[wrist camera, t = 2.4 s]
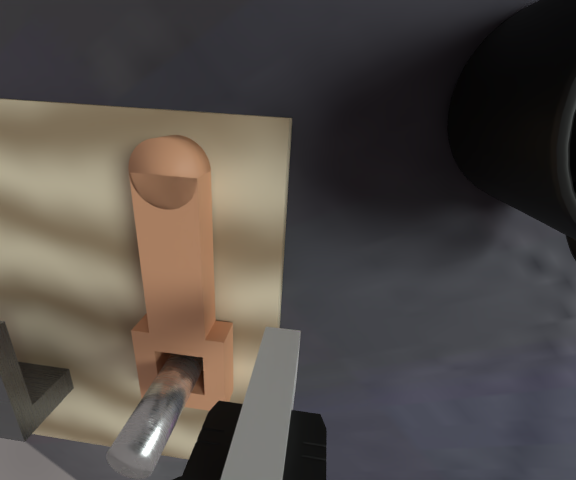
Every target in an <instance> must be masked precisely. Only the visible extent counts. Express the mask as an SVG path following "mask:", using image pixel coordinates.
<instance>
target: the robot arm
mask: <svg viewBox="0 0 576 480" xmlns="http://www.w3.org/2000/svg"><path fill="white" fill-rule="evenodd" d="M300 334H301V331H298V330H290V329H282V328H274V327H266V328H265V331H264V334H263V338H262V341H261V344H260V348H259V351H258V355H257V358H256V361H255V365H254V368H253V371H252V375H251V378H250V382H249V385H248V388H247V392H246V395H245V398H244V402H243V404H240V403H233V402H226V401H218V402H217V403H216V404H215V405H214V406H213V407H212V409H211V410H210V411H209V412H208V414H207V416H206V418H205V421H204V423H203V426H202V430H201V431H200V433H199V436H198V438H197V442H196V443H195V446H194V448H193V451H192V453H191V455H190V458H189V460H188V463H187V465H186V468H185V470H184V473H183V475H182V476H180V477H178V478H176V479H173V480H326V427H325V424H324V422H323V419H322V417H321V415H320V414H315V413H308V412H301V411H294V410H293V403H294V395H295V386H296V377H297V366H298V355H299V344H300Z"/></svg>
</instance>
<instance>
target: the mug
mask: <svg viewBox="0 0 576 480" xmlns="http://www.w3.org/2000/svg"><path fill="white" fill-rule="evenodd" d="M448 136H449V143H450V147H451V150H452V154H453V157H454V159H455V161H456V163H457V165H458V167H459V168H460V170H461V171H462V172H463V174H464V175H465V176H466V178H467V179H468V180H469V181H471V182H472V183H473V184H474V185H475V186H476V187H478V188H479V189H481V190H482V191H484V192H486V193H488V194H489V195H491V196H493V197H495V198H497V199H499V200H501V201H503V202H504V203H506V204H508V205H510V206H512V207H514V208H516V209H518V210H520V211H522V212H523V213H525V214H527V215H529V216H531V217H533V218H535V219H537V220H539V221H540V222H542V223H544V224H546V225H548V226H550V227H552V228H554V229H556V230H558V231H559V232H561V233H563V234H565V235H566V239H567V242H568V245H569V248H570V251H571V253H572V255H573V257H574V259H575V260H576V0H540V1H538V2H536V3H534V4H532V5H530V6H528V7H526V8H524V9H522V10H520V11H519V12H518V13H516V14H515V15H513V16H512V17H510V18H509V19H507V20H506V21H505V22H503V23H502V24H501V25H500V26H499V27H498V28H496V29H495V30H494V31H493V32H492V33H491V34H490V35H489V36H488V37H487V38H486V39H485V40H484V41H483V42H482V44H481V45H480V46H479V47H478V48H477V50H476V51H475V52H474V54H473V55H472V57H471V58H470V59H469V61H468V62H467V64H466V65H465V67H464V69H463V71H462V73H461V75H460V77H459V79H458V81H457V84H456V86H455V89H454V92H453V95H452V98H451V103H450V108H449V115H448Z"/></svg>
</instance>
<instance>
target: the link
mask: <svg viewBox="0 0 576 480" xmlns="http://www.w3.org/2000/svg"><path fill="white" fill-rule="evenodd" d="M128 169H129V178H130V186H131V194H132V202H133V210H134V218H135V225H136V233H137V241H138V249H139V257H140V265H141V272H142V280H143V288H144V296H145V304H146V312H147V313H146V314H145V315H144V317H143V318H142V319H141V320H140V321H139V322H138V323H137V324H136V325H135V327H134V328H133V329H132V330H131V334H132V340H133V347H134V353H135V360H136V366H137V373H138V380H139V386H140V393H141V399H142V398H143V396H144V395H145V393H146V392H147V390H148V389H149V387H150V385H151V384H152V382H153V381H154V379H155V378H156V376H157V375H158V373H159V372H160V370H161V368H162V367H163V365H164V364H165V362H166V361H167V359H168V358H169V356H170V355H171V353H173V354H180V355H187V356H195V357H202V358H203V371H202V372H201V374H200V376H199V378H198V380H197V382H196V384H195V386H194V388H193V390H192V392H191V394H190V396H189V398H188V400H187V402H186V404H185V407H187V408H194V409H201V410H207V411H210V410H211V409H212V407H213V406H214V405H215V404H216V403H217V402H218V401H226V402H229V401H230V398H231V395H232V393H233V323H231V322H223V321H216V318H215V286H214V254H213V222H212V190H211V167H210V162H209V160H208V157H207V155H206V153H205V152H204V150H203V149H202V148H201V147H200V146H199V145H198V144H197V143H196V142H195V141H193V140H191V139H190V138H187V137H185V136H181V135H170V136H163V137H157V138H151V139H147V140H145V141H143V142H141V143H140V144H138V145H137V146H136V147H135V149H134V150H133V152H132V154H131V156H130V159H129V167H128Z"/></svg>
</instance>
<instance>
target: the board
mask: <svg viewBox="0 0 576 480" xmlns="http://www.w3.org/2000/svg"><path fill="white" fill-rule="evenodd" d="M291 129H292V118H284V117H269V116H254V115H239V114H225V113H210V112H195V111H180V110H165V109H150V108H135V107H120V106H105V105H90V104H75V103H60V102H46V101H31V100H16V99H1V98H0V321H5V324H6V327H7V330H8V333H9V336H10V339H11V342H12V345H13V348H14V351H15V354H16V357H17V360H18V362H24V363H31V364H38V365H45V366H52V367H59V368H66V369H69V370H70V374H71V378H72V382H73V386H74V389H73V390H72V391H71V392H70V393H69V394H68V395H67V396H66V397H65V398H64V399H63V400H62V402H61V403H60V404H59V405H58V406H57V407H56V408H55V409H54V410H53V411H52V412H51V414H50V415H49V416H48V417H47V418H46V419H45V420H44V421H43V422H42V423H41V424H40V426H39V427H38V428H37V429H36V430H35V431H34V432H33V433H32V434H37V435H43V436H49V437H55V438H61V439H67V440H73V441H80V442H86V443H92V444H98V445H104V446H110V447H111V446H112V444H113V442H114V441H115V439H116V438H117V436H118V435H119V433H120V432H121V430H122V429H123V427H124V426H125V424H126V422H127V421H128V419H129V418H130V416H131V415H132V413H133V412H134V410H135V409H136V407H137V405H138V404H139V402H140V401H141V393H140V386H139V380H138V373H137V366H136V360H135V353H134V347H133V340H132V334H131V330H132V329H133V328H134V327H135V325H136V324H137V323H138V322H139V321H140V320H141V319H142V318H143V317H144V315H145V314H146V313H147V312H146V304H145V296H144V288H143V280H142V272H141V265H140V257H139V249H138V241H137V233H136V225H135V218H134V210H133V202H132V194H131V186H130V178H129V169H128V167H129V159H130V156H131V154H132V152H133V150H134V149H135V147H136V146H137V145H138V144H140V143H141V142H143V141H145V140H147V139H151V138H157V137H163V136H170V135H181V136H185V137H187V138H190V139H191V140H193V141H195V142H196V143H197V144H198V145H199V146H200V147H201V148H202V149H203V150H204V152H205V153H206V155H207V157H208V160H209V162H210V167H211V190H212V222H213V254H214V286H215V318H216V321H223V322H231V323H233V393H232V395H231V398H230V401H229V402H233V403H240V404H243V402H244V398H245V395H246V392H247V388H248V385H249V382H250V378H251V375H252V371H253V368H254V365H255V361H256V358H257V355H258V351H259V348H260V344H261V341H262V338H263V334H264V331H265V328H266V327H274V328H280V312H281V296H282V279H283V262H284V246H285V229H286V213H287V196H288V179H289V163H290V146H291ZM202 371H203V370H202ZM208 412H209V411H207V410H201V409H194V408H187V407H184V409H183V411H182V413H181V415H180V417H179V419H178V421H177V423H176V425H175V427H174V429H173V431H172V433H171V435H170V437H169V439H168V441H167V443H166V445H165V447H164V450H163V452H162V454H161V455H165V456H171V457H177V458H183V459H189V458H190V455H191V453H192V451H193V448H194V446H195V443H196V442H197V438H198V436H199V433H200V431H201V430H202V426H203V423H204V421H205V418H206V416H207V414H208Z"/></svg>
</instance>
